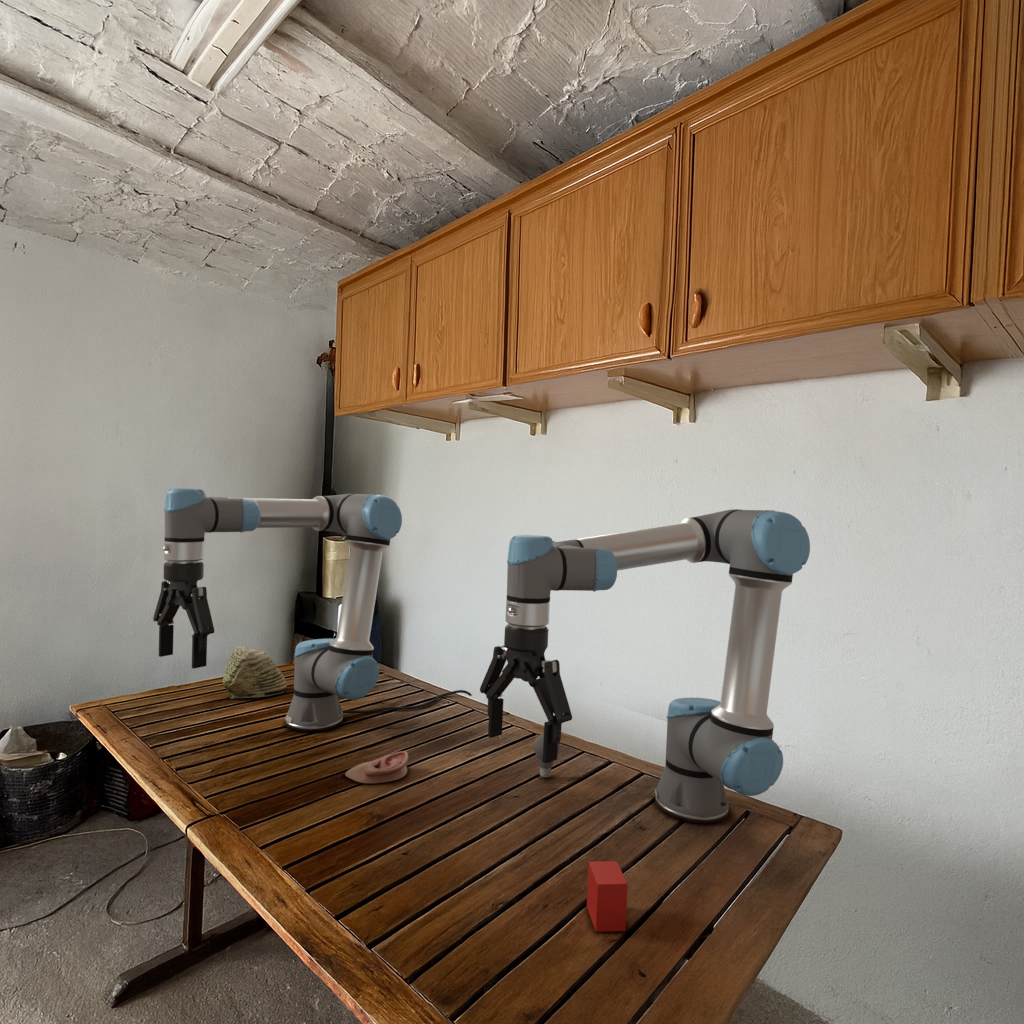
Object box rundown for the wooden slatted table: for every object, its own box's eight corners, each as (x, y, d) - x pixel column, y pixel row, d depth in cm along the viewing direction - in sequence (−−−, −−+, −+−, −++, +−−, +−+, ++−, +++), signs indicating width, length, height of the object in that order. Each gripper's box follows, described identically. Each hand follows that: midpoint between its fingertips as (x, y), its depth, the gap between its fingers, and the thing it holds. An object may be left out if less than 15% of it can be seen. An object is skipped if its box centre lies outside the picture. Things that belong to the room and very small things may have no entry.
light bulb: (531, 771, 151) (532, 729, 150) (555, 771, 151) (557, 729, 151) (534, 782, 145) (535, 738, 145) (559, 782, 145) (561, 739, 145)
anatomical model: (339, 762, 141) (361, 743, 153) (338, 780, 141) (361, 759, 153) (395, 770, 139) (413, 750, 150) (394, 788, 139) (413, 766, 150)
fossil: (218, 695, 195) (220, 647, 195) (278, 685, 208) (279, 640, 207) (228, 703, 189) (230, 653, 188) (289, 692, 201) (290, 645, 201)
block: (595, 932, 95) (597, 884, 95) (586, 906, 101) (588, 861, 101) (625, 931, 96) (627, 883, 96) (614, 905, 102) (617, 860, 102)
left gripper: (137, 557, 138) (135, 654, 138) (198, 568, 123) (195, 676, 124) (172, 555, 144) (170, 647, 145) (234, 565, 130) (231, 668, 130)
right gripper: (464, 615, 115) (459, 730, 116) (566, 641, 97) (559, 778, 97) (494, 611, 120) (489, 722, 121) (597, 636, 102) (591, 766, 103)
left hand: (181, 661), depth 134 cm, fingers open, 13 cm apart
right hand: (521, 747), depth 109 cm, fingers open, 13 cm apart
